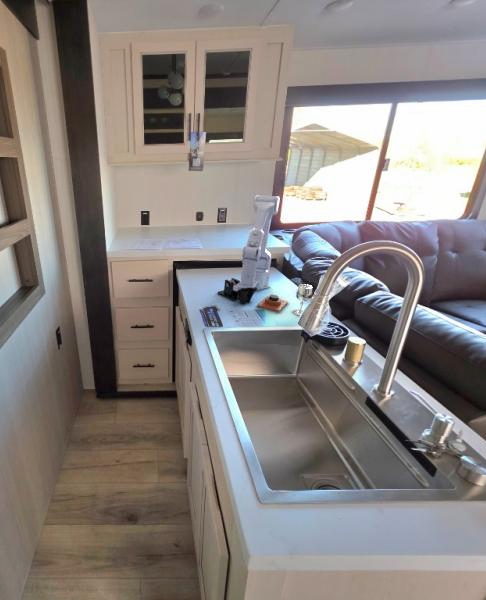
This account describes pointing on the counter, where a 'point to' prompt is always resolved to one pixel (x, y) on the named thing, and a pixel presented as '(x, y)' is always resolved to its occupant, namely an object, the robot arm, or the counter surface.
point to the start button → (273, 298)
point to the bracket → (229, 290)
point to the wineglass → (303, 295)
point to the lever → (235, 284)
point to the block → (272, 304)
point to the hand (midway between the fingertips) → (244, 302)
